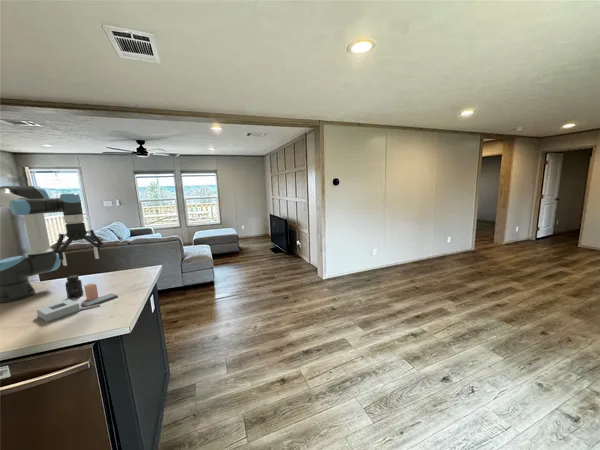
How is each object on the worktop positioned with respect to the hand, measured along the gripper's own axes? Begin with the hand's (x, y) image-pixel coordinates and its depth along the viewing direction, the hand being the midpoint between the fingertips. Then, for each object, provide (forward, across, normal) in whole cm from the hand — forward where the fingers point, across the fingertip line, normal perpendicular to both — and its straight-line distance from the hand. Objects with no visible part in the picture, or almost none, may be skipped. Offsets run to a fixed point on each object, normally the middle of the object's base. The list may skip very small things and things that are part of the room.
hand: (81, 261), depth 131 cm
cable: (+22, -4, -12) cm, 26 cm away
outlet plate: (+22, -13, -5) cm, 26 cm away
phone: (+22, +3, -7) cm, 23 cm away
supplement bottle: (+22, -1, +15) cm, 27 cm away
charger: (+22, +2, +2) cm, 22 cm away
